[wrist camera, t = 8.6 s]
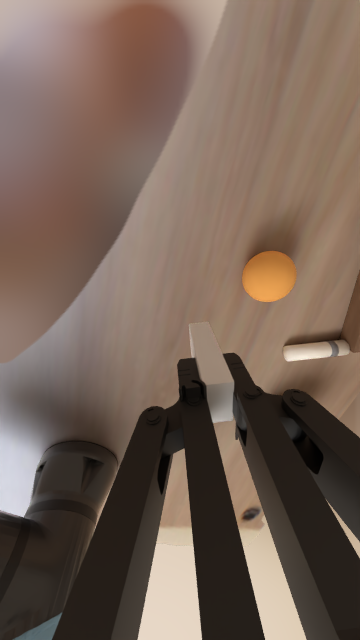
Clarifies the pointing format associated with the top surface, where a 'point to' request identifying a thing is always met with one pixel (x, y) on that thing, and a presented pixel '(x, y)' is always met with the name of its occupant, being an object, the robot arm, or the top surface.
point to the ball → (269, 276)
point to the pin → (316, 350)
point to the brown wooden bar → (353, 321)
